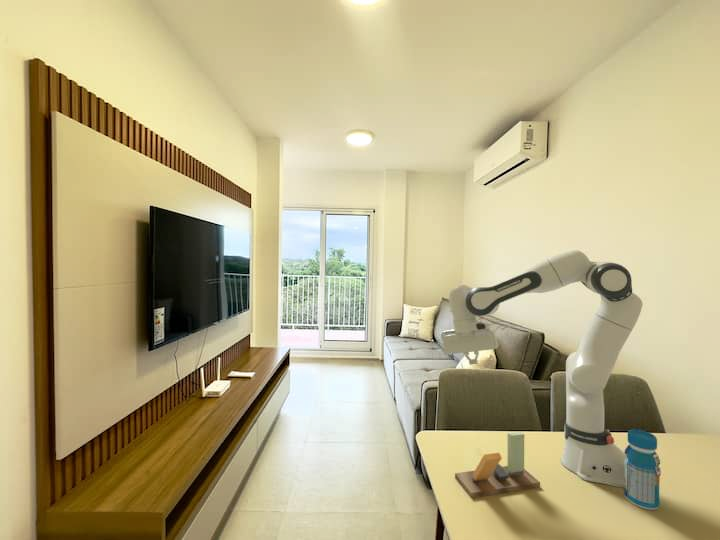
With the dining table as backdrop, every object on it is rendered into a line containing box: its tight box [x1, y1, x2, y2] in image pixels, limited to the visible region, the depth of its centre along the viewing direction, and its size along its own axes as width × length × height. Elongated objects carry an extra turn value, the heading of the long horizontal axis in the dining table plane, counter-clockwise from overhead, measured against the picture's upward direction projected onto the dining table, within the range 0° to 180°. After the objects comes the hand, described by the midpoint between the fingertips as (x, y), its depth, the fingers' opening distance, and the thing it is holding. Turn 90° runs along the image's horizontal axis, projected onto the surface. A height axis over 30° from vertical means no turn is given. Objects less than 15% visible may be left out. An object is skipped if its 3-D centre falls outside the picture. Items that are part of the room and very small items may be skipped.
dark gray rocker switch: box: [493, 463, 509, 480], centre depth 110 cm, size 3×5×2 cm, turn 12°
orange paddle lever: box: [472, 452, 503, 481], centre depth 105 cm, size 5×2×13 cm
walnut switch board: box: [454, 465, 541, 499], centre depth 110 cm, size 24×10×2 cm, turn 102°
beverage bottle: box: [623, 429, 662, 511], centre depth 101 cm, size 8×8×20 cm
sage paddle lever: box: [507, 431, 525, 476], centre depth 111 cm, size 5×2×13 cm, turn 102°
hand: (473, 364), depth 129 cm, fingers closed
